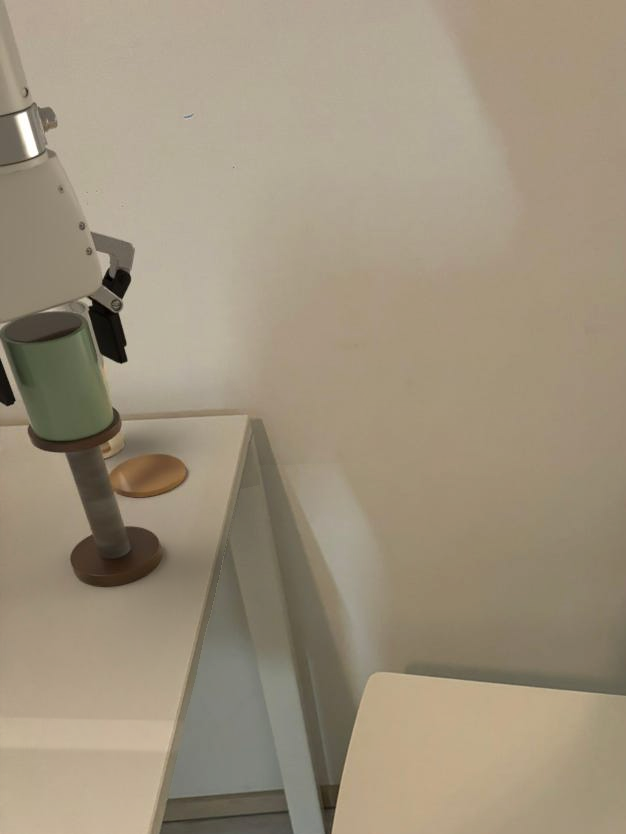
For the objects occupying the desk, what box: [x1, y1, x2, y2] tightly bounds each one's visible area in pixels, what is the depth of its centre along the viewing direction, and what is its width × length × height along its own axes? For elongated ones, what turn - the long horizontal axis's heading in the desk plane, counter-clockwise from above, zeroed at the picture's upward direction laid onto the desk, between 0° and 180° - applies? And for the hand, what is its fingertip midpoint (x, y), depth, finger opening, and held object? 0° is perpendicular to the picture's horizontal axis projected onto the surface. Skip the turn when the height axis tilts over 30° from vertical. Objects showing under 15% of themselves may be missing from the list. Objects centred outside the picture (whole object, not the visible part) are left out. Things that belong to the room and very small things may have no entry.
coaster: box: [109, 453, 187, 498], centre depth 97 cm, size 8×8×1 cm
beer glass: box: [39, 300, 125, 460], centre depth 97 cm, size 7×7×15 cm
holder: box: [27, 406, 163, 587], centre depth 81 cm, size 8×8×14 cm
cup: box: [0, 311, 114, 441], centre depth 74 cm, size 6×6×8 cm
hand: (60, 378), depth 74 cm, fingers open, 9 cm apart
